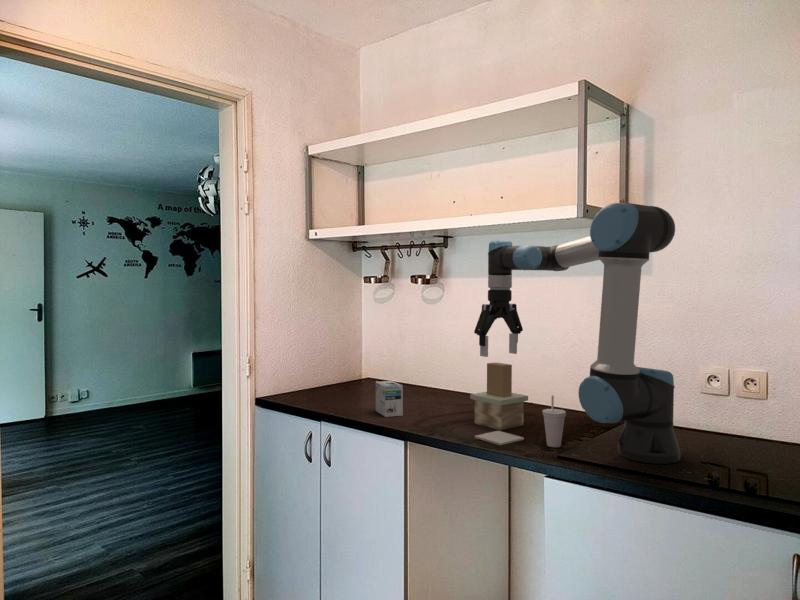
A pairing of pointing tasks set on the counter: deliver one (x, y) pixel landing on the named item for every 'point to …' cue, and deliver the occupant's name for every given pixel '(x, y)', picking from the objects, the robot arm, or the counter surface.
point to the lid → (499, 386)
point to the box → (499, 415)
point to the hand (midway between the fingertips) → (498, 355)
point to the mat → (499, 437)
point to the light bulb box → (389, 398)
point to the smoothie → (554, 425)
